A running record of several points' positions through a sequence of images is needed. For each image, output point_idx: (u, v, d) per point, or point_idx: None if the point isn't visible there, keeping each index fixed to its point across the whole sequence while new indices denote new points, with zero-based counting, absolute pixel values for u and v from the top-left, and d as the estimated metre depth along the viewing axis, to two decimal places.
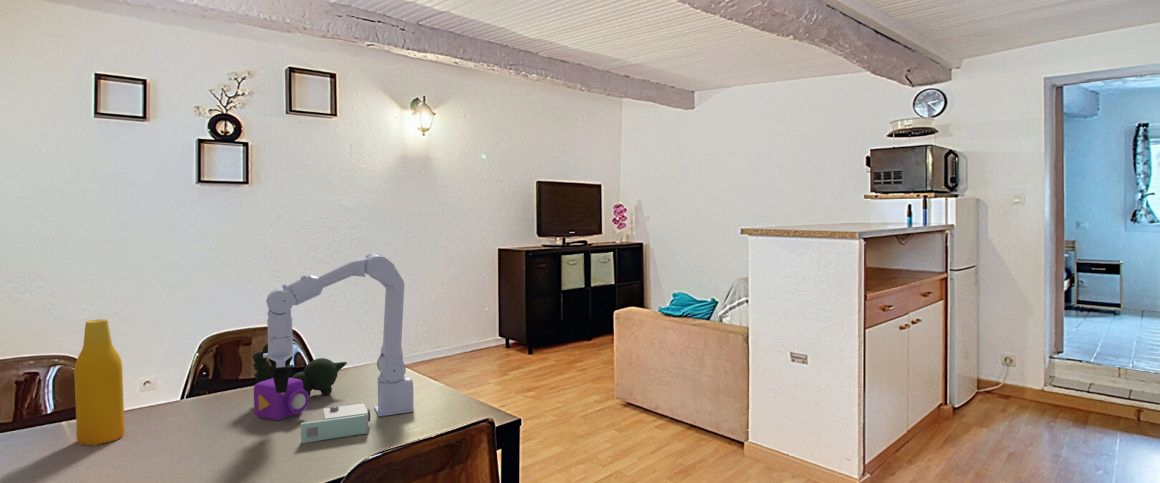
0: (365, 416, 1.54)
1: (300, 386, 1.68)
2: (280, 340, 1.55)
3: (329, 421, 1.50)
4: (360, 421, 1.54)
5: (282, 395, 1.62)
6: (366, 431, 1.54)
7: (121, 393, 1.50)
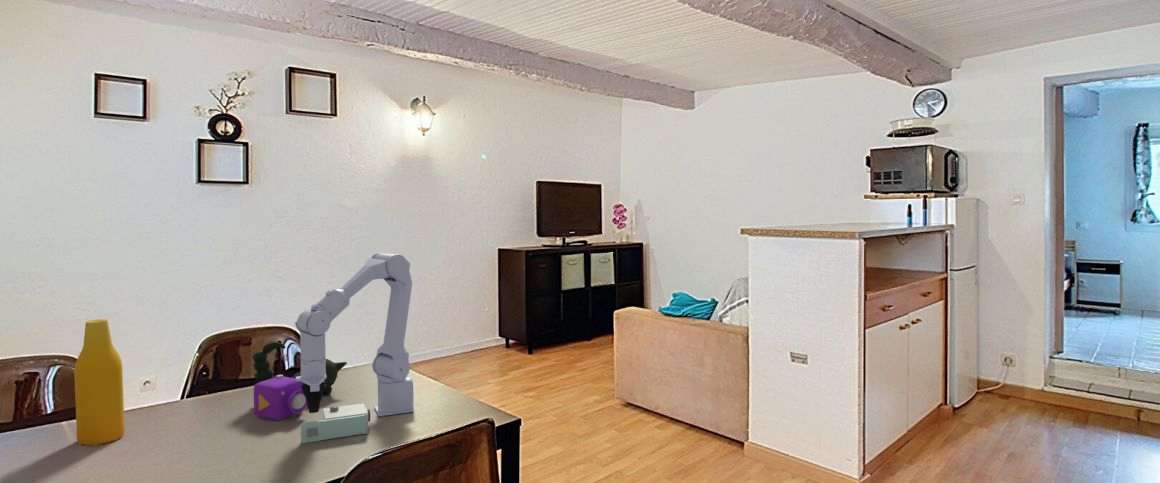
0: (365, 416, 1.54)
1: (300, 386, 1.68)
2: (314, 363, 1.51)
3: (329, 421, 1.50)
4: (360, 421, 1.54)
5: (282, 395, 1.62)
6: (366, 431, 1.54)
7: (121, 393, 1.50)
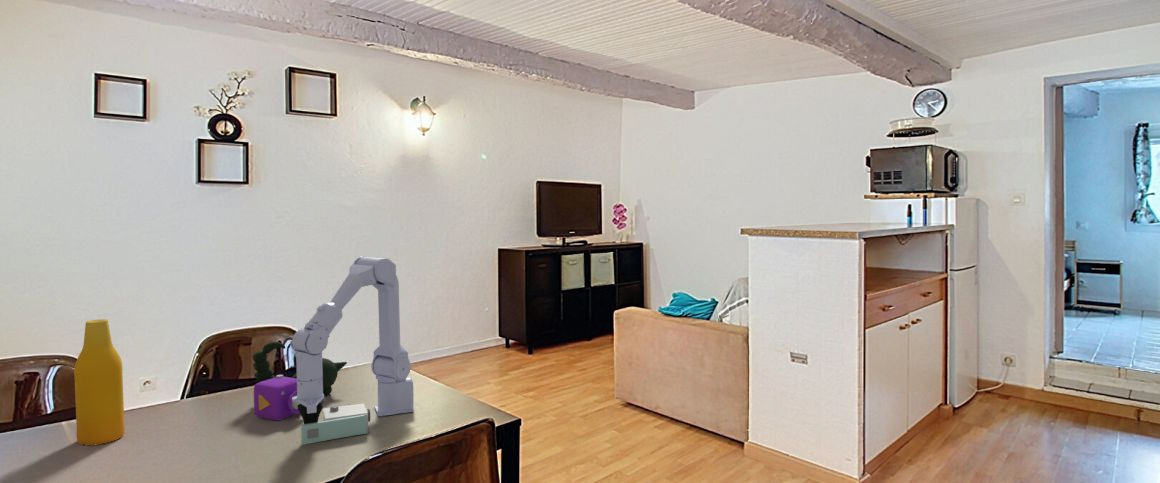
0: (365, 416, 1.54)
1: None
2: (310, 383, 1.46)
3: (329, 422, 1.50)
4: (360, 422, 1.53)
5: (282, 395, 1.62)
6: (367, 431, 1.54)
7: (121, 393, 1.50)
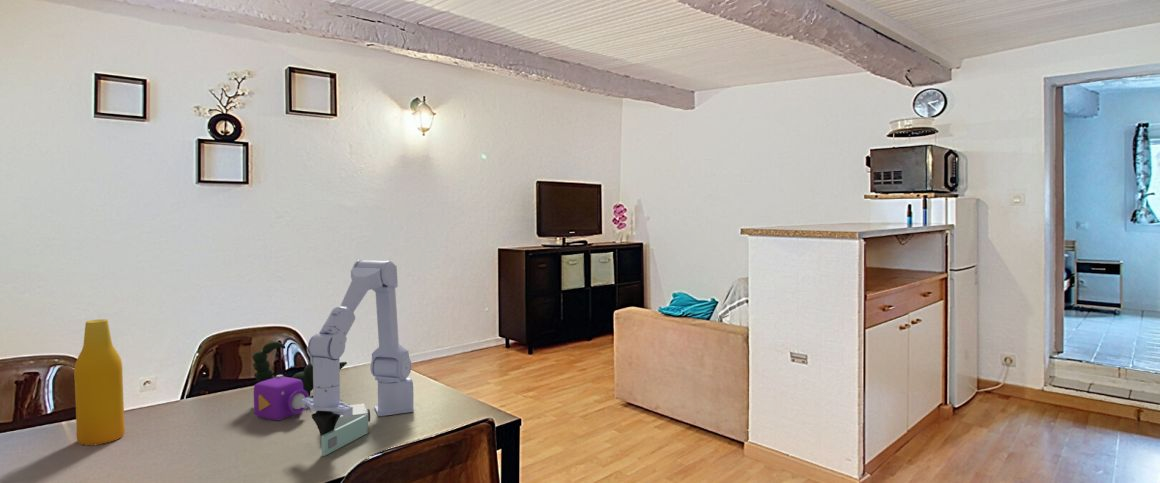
0: (366, 416, 1.54)
1: (300, 386, 1.68)
2: (335, 389, 1.42)
3: (343, 427, 1.46)
4: (363, 422, 1.53)
5: (282, 395, 1.62)
6: None
7: (121, 393, 1.50)
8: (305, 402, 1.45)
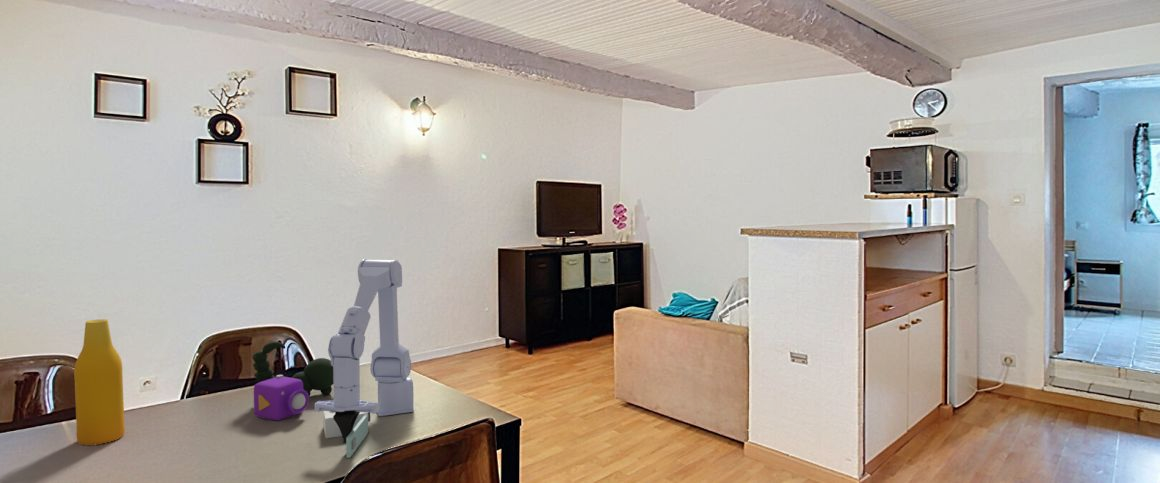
0: (367, 416, 1.54)
1: (300, 386, 1.68)
2: (358, 387, 1.43)
3: (357, 428, 1.46)
4: (366, 422, 1.53)
5: (282, 395, 1.62)
6: None
7: (121, 393, 1.50)
8: (320, 405, 1.42)
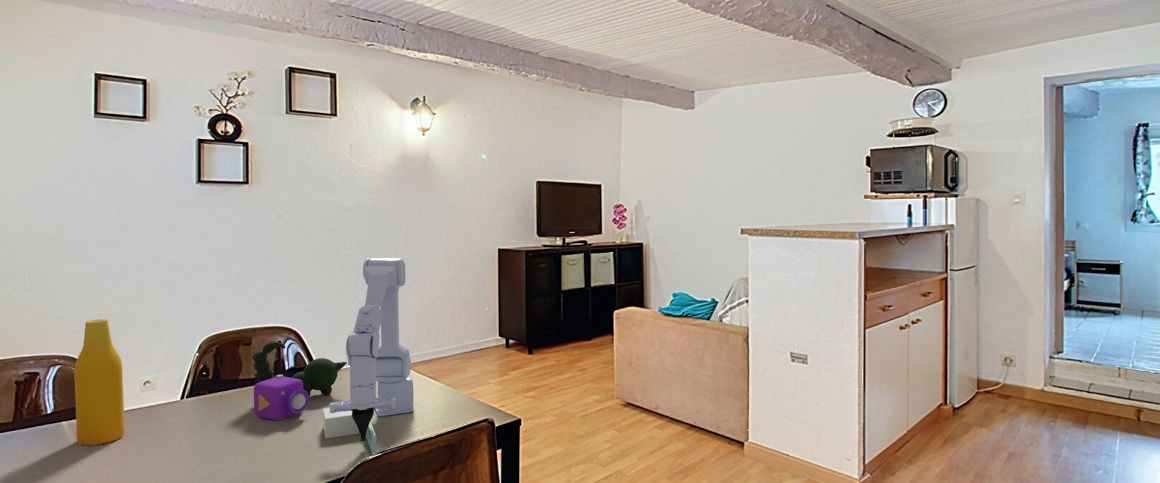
0: None
1: (300, 386, 1.68)
2: (375, 385, 1.45)
3: (372, 427, 1.47)
4: None
5: (282, 395, 1.62)
6: None
7: (121, 393, 1.50)
8: (337, 406, 1.42)
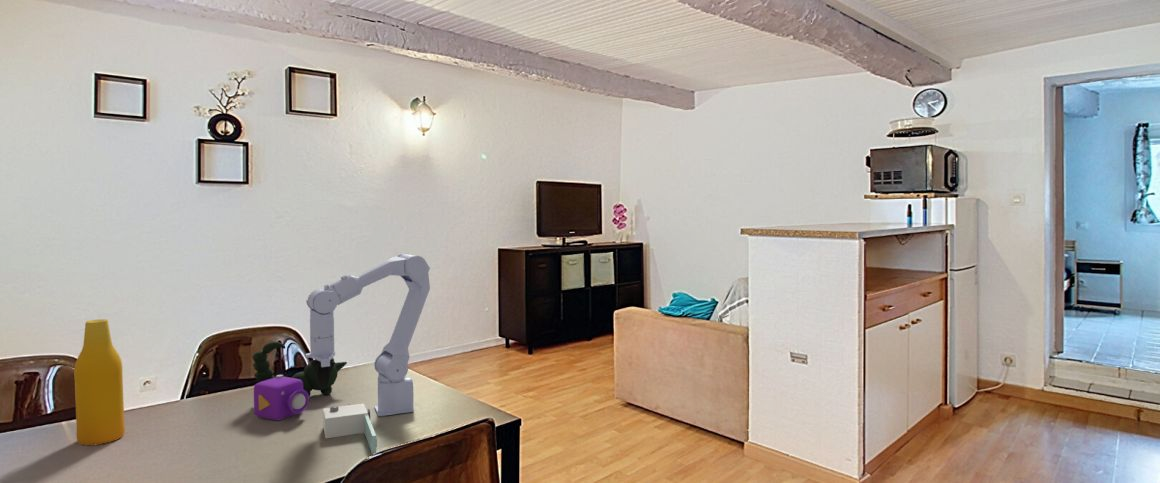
0: None
1: (300, 386, 1.68)
2: (323, 340, 1.56)
3: None
4: None
5: (282, 395, 1.62)
6: None
7: (121, 393, 1.50)
8: None
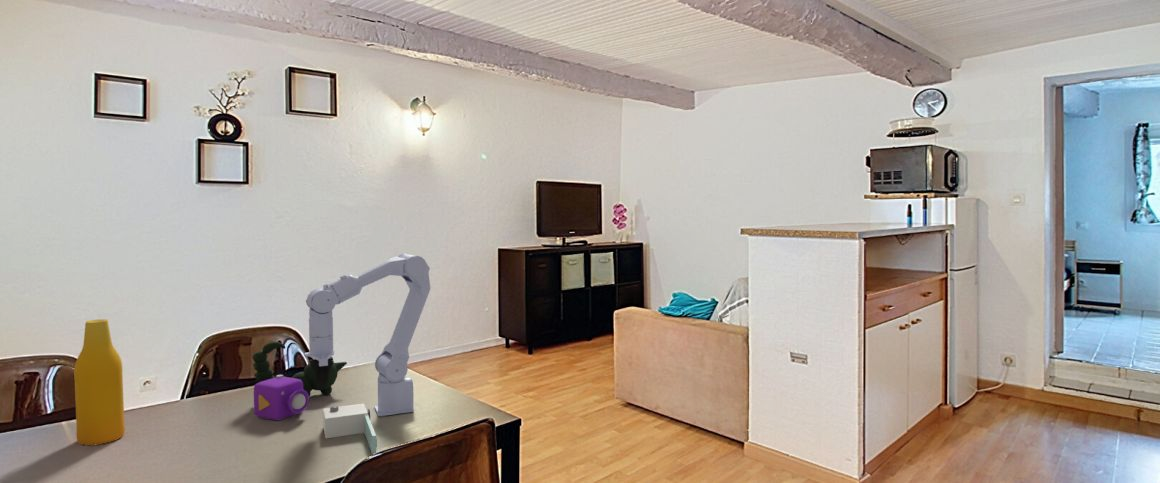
0: None
1: (300, 386, 1.68)
2: (322, 339, 1.57)
3: None
4: None
5: (282, 395, 1.62)
6: None
7: (121, 393, 1.50)
8: None
